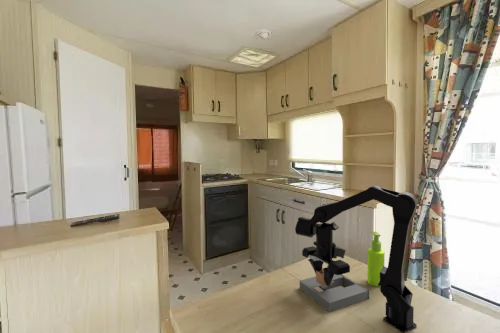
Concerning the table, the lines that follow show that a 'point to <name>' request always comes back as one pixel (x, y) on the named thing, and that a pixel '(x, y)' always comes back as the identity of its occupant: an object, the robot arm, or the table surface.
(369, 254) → the soap dispenser
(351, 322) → the table surface
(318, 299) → the keyhole plate
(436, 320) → the table surface
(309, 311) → the table surface
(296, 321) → the table surface
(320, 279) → the key peg
